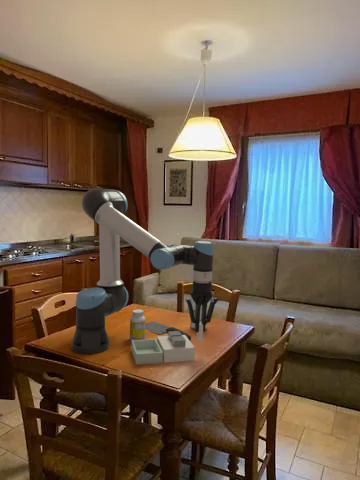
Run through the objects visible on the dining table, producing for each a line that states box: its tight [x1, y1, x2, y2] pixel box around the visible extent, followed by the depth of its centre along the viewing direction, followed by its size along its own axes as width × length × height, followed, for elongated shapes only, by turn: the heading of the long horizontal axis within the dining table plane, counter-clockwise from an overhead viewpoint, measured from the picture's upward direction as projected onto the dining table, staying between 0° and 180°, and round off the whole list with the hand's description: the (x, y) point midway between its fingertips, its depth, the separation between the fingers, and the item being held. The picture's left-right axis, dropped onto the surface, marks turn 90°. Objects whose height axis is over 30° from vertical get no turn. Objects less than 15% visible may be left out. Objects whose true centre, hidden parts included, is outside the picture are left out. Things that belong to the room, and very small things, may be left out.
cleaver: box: [145, 321, 192, 341], centre depth 173 cm, size 29×10×2 cm, turn 44°
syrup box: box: [190, 299, 208, 330], centre depth 179 cm, size 6×6×14 cm
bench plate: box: [156, 335, 196, 363], centre depth 148 cm, size 12×14×5 cm
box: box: [130, 338, 164, 366], centre depth 145 cm, size 10×14×4 cm
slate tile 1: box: [172, 336, 186, 347], centre depth 145 cm, size 4×4×2 cm
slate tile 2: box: [167, 331, 182, 341], centre depth 151 cm, size 4×4×2 cm
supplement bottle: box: [129, 308, 146, 342], centre depth 162 cm, size 7×7×13 cm
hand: (199, 339), depth 147 cm, fingers closed
